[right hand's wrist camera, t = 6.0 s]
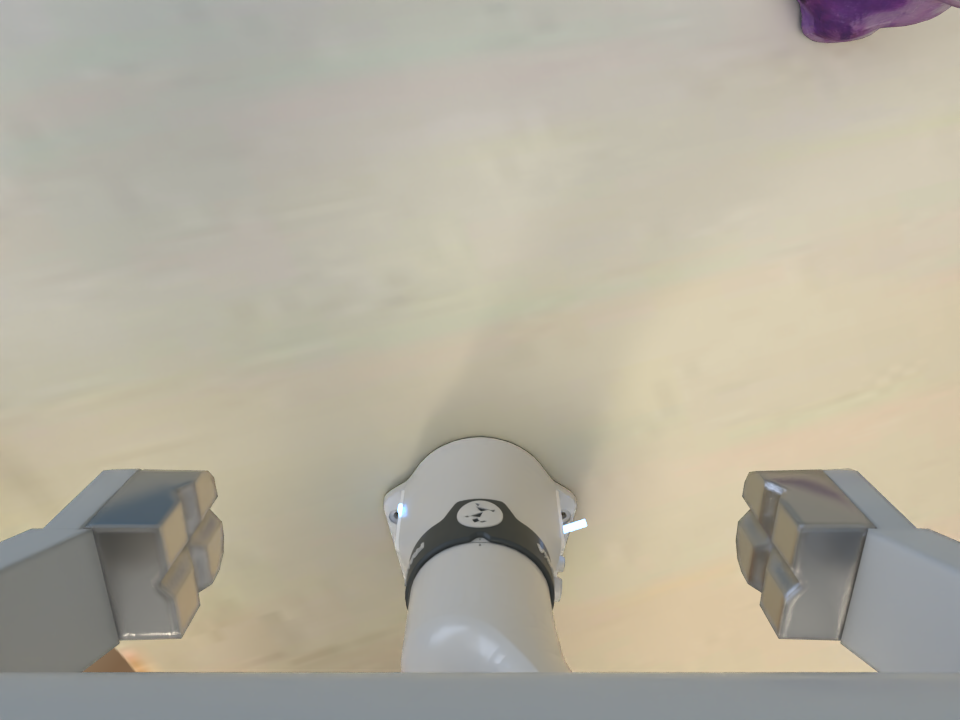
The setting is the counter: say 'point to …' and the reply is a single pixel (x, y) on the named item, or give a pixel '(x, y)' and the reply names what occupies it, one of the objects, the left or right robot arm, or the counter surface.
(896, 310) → the counter surface
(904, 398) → the counter surface
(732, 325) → the counter surface
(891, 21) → the figurine
